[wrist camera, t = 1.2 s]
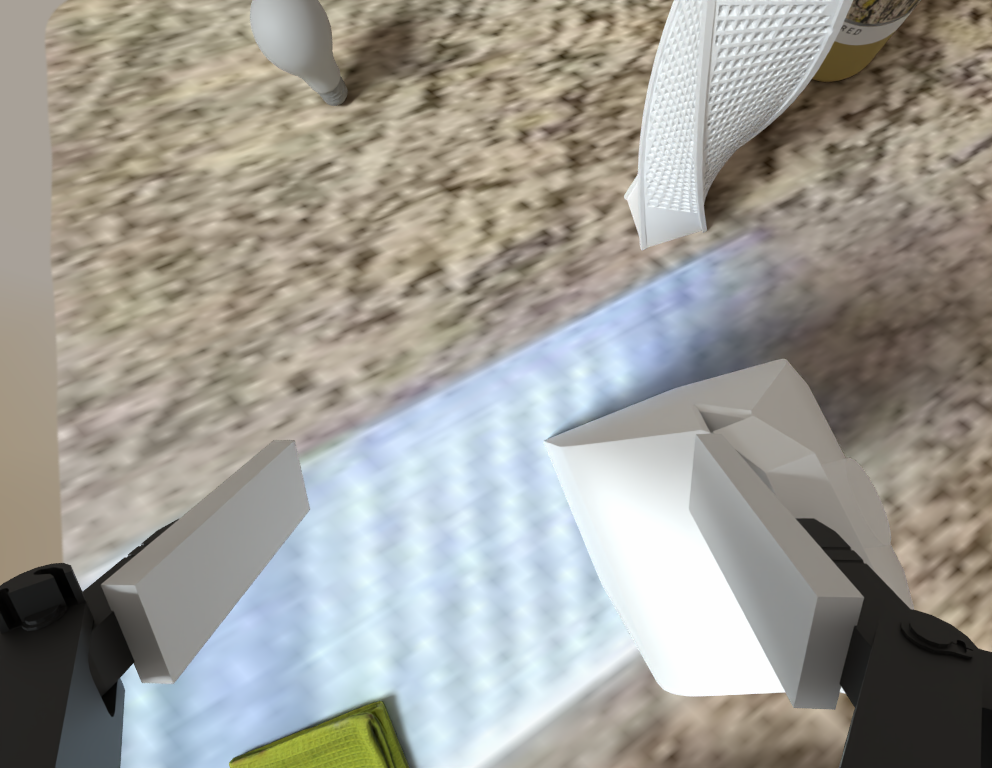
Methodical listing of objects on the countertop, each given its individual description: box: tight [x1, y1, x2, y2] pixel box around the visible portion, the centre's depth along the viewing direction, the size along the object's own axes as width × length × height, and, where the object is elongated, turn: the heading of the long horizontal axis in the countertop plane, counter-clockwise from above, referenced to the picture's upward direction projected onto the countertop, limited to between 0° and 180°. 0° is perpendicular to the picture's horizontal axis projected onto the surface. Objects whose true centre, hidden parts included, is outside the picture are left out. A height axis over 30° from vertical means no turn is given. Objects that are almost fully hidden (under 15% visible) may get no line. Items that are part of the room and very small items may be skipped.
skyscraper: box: [624, 0, 853, 250], centre depth 26 cm, size 8×8×28 cm
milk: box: [543, 359, 914, 696], centre depth 24 cm, size 12×12×26 cm
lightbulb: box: [250, 0, 348, 106], centre depth 40 cm, size 6×6×11 cm
